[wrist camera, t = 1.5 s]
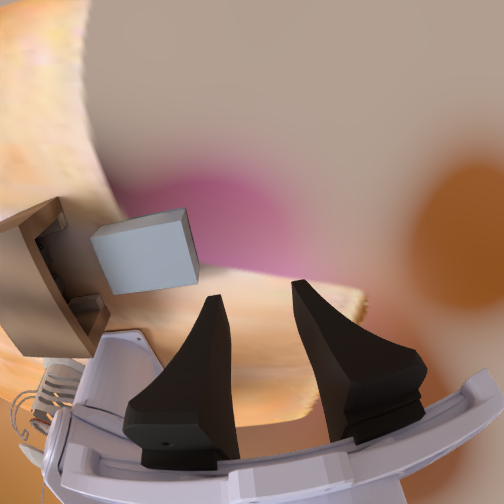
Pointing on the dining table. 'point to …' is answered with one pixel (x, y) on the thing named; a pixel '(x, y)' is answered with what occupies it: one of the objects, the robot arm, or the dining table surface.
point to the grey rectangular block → (148, 252)
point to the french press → (50, 400)
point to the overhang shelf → (43, 292)
